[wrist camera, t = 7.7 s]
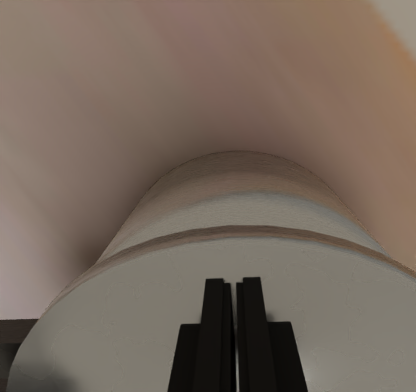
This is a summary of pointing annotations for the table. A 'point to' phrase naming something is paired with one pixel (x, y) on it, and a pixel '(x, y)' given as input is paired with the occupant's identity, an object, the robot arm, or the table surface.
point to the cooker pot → (222, 211)
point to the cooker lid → (231, 273)
